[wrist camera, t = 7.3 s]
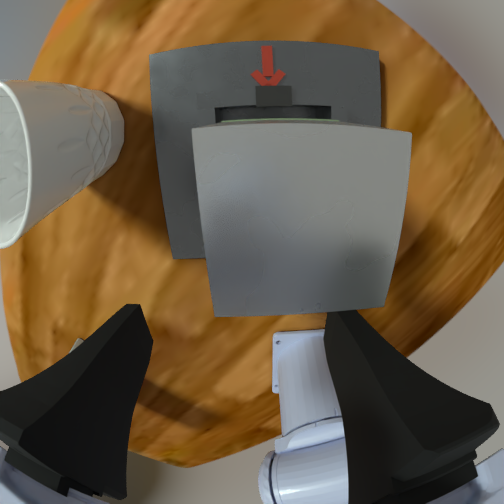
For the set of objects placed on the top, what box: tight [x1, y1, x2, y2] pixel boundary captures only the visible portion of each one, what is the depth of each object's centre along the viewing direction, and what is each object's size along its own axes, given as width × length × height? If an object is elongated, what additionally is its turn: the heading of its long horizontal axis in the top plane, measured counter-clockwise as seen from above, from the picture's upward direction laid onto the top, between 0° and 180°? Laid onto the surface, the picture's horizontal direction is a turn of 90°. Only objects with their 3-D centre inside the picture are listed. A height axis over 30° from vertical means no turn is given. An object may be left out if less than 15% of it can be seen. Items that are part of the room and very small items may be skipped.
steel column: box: [192, 118, 412, 317], centre depth 8 cm, size 4×4×7 cm
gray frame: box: [149, 41, 381, 259], centre depth 14 cm, size 14×14×5 cm
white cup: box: [0, 80, 124, 249], centre depth 11 cm, size 8×8×10 cm
